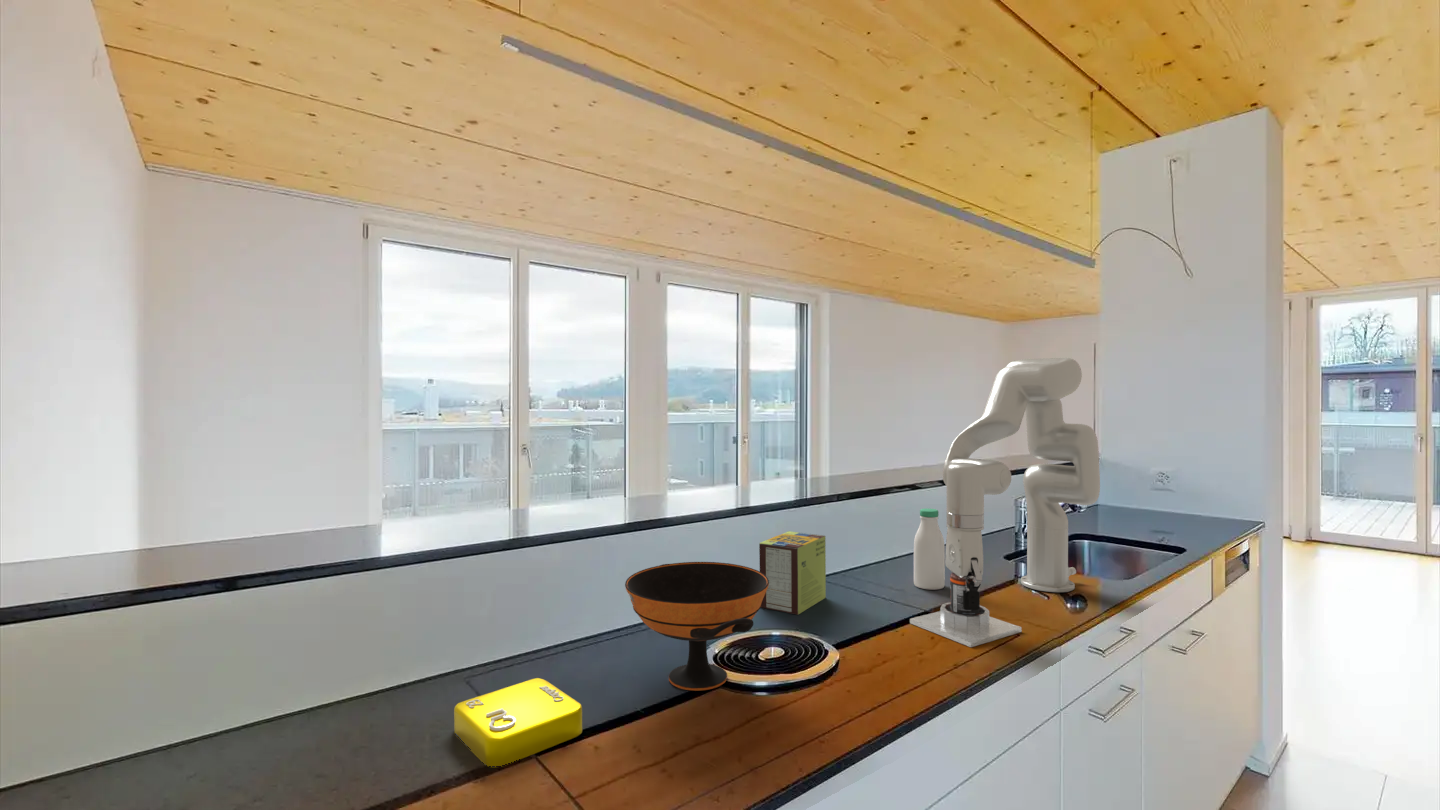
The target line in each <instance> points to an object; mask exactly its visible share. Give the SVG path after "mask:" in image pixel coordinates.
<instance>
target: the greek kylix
mask: <svg viewBox="0 0 1440 810" xmlns="http://www.w3.org/2000/svg"><path fill="white" fill-rule="evenodd" d="M768 586H769V580H768V578H767V576H766V575H764V574H763V573H761V572H760V570H757V569H754V568H753V567H748V566H745V565H741V564H734V563H729V562H728V563H726V562H715V561H686V562H685V561H684V562H674V563H663V564H660V565H656V566H651V567H648V568H645V569H642V570H639V571H637V572H634V573H633V574H631V575H630V576H628V577H627V579H626V581H625V582H624V587H625V590H626V593H627V595H628V597H629V600H630V602H631V604H632V608H633V611H634V613H635V614H637V615H638V617H639V618H640V620H641V621H642V623H644V624H645V625H646V626H647V627H648V628H649V629H651V630H652V631H654V632H656V633H658V634H660V635H662V636H665V637H666V638H671V639H675V640H680V641H688V657H687V663H686V664H684V665H683V664H682V665H680V666H678V667H675V668H674V669H672V670H671V671H670V672H669V673H668V682H669V683H670V684H671V685H673V686H674V687H676V688H678V689H681V690H687V691H692V692H693V691H695V692H696V691H708V690H712V689H716V688H718V687H720V686H722V685H723V684H725V683H726V681H727V680H728V673H727V671H726V670H725V669H724V668H722V667H720V666H719V665H715V664H711V663H709V659H708V652H707V649H708V648H707V644H708V643H707V641H713V640H719V639H722V638H726V637H727V636H730V635H733V634H735V633H746V632H749V631H750V630H751V629H752V628H753V626H754V620H753V619H754V617H755V616H756V615H757V613H758V612H759V611H760V609H761V605H762V600H763V598H764V595H765V593H766V591H767V588H768ZM726 679H727V680H726Z"/></svg>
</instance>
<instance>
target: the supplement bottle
mask: <svg viewBox="0 0 1440 810" xmlns="http://www.w3.org/2000/svg"><path fill="white" fill-rule="evenodd" d="M967 576H973V574H972V573H968V574H967ZM970 581H973V579H968V582H969V583H970ZM949 582H950V586H949V588H950V589H949V590H950V592H949V593H950V597H949V598H950V599H949V600H950V601H949V602H950V609H951V612H952V613H955V614H961V615H980V606H981V604H980V603H981V602H980V595H981V593H980V591H981V590H980V591H979V609H978V610H965V609H964V608H963V590H965V586H964V578H960V577H959V576H957V575H956V574H955V573H953V572H952V571H951V573H950V576H949Z"/></svg>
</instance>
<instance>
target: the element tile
mask: <svg viewBox="0 0 1440 810" xmlns="http://www.w3.org/2000/svg"><path fill="white" fill-rule="evenodd" d="M453 715H454V716H453V717H454V719H453V721H454V723H453V725H454V734H455V733H456V734H457V735H458V736H459V737H460V738H461V740H462V741H463V742H464V743H465V744H466V745H467V746H468V747H469V748H470V749H471V750H470V749H469V748H468V747H467V746H466V745H465V744H464V743H463V742H462V741H461V740H460V741H461V742H462V743H463V744H464V745H465V746H466V747H467V748H468V749H469V750H470V752H471V753H473V755H474V756H475V757H476V758H477V759H479V761H480V762H481V763H482V762H483V763H484V764H483V763H482V764H483V765H485V764H486V765H487V766H486V765H485V766H486V767H489V766H491V767H490V768H493V767H492V766H495V767H494V768H497V767H496V766H501V767H503V766H502V765H505V764H507V765H509V764H508V763H510V764H512V763H514V761H515V762H517V761H519V759H520V760H522V759H524V758H527V757H530V756H532V755H535V754H538V753H540V752H542V751H546V750H547V749H550V748H552V747H554V746H557V745H559V744H562V743H564V742H567V741H570V740H572V739H574V738H577V737H579V736H580V735H581V734H582V733H583V706H582V704H581V703H580V702H579V701H577V700H576V699H574V698H572V697H571V696H570V695H568V694H567V693H565V692H563V691H562V690H561V689H559V688H558V687H556V686H555V685H554V684H552V683H550V682H549V681H548V680H545V679H543V678H539V677H536V678H535V677H534V678H531V679H528V680H526V681H523V682H519V683H516V684H513V685H509V686H508V687H507V686H506V687H503V688H501V689H497V690H495V691H491V692H487V693H485V694H482V695H478V696H476V697H472V698H469V699H466V700H463V701H460V702H458V703H456V705H455V706H454V709H453ZM516 760H517V761H516ZM511 762H512V763H511ZM505 766H506V765H505Z"/></svg>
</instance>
